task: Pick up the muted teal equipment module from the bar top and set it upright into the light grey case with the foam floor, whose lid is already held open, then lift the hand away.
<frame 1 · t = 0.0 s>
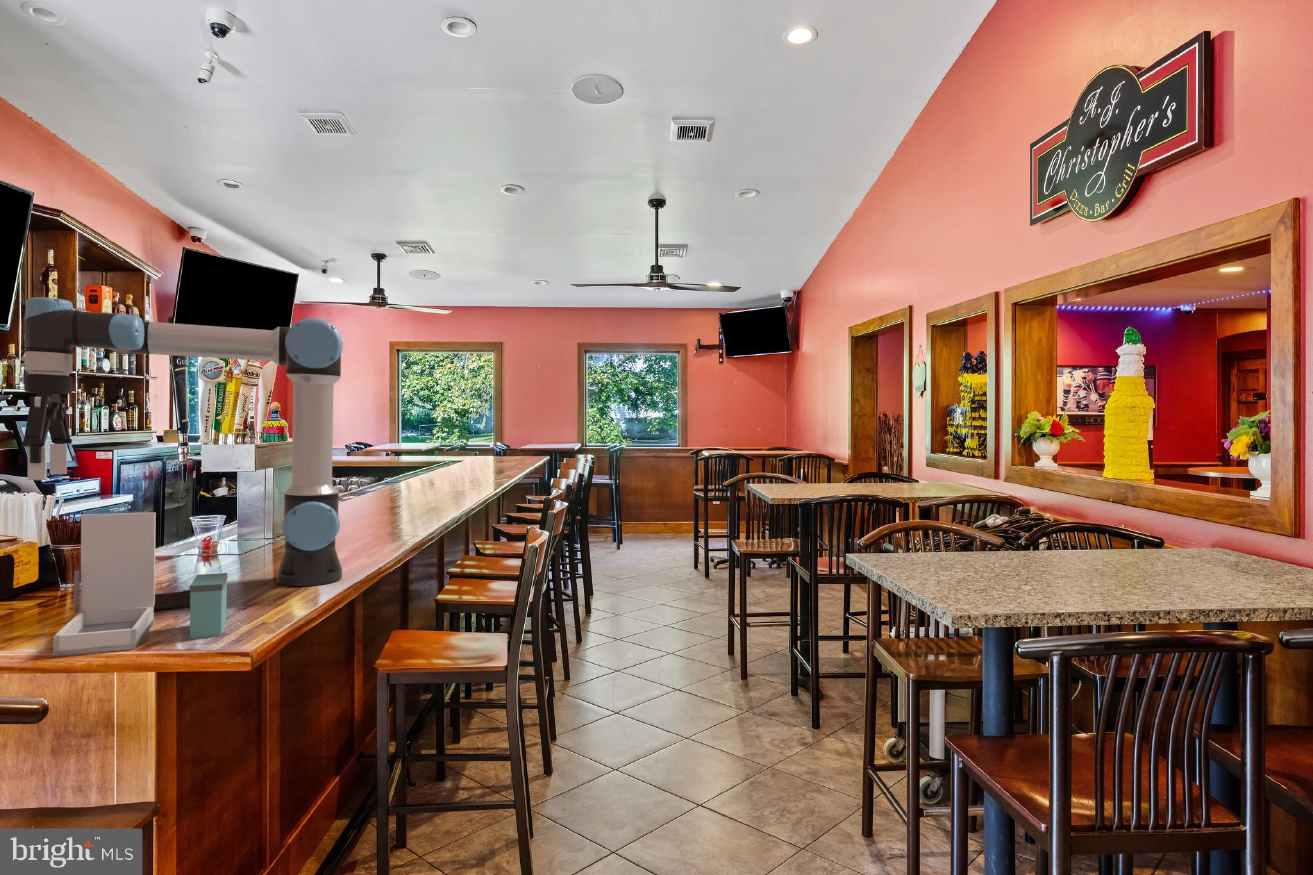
hand: (48, 477, 147), 28 cm above the table, tool pointing down, fingers open, 13 cm apart
hand tool: (164, 612, 151), on the table
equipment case: (107, 638, 132), on the table
module: (208, 630, 139), on the table
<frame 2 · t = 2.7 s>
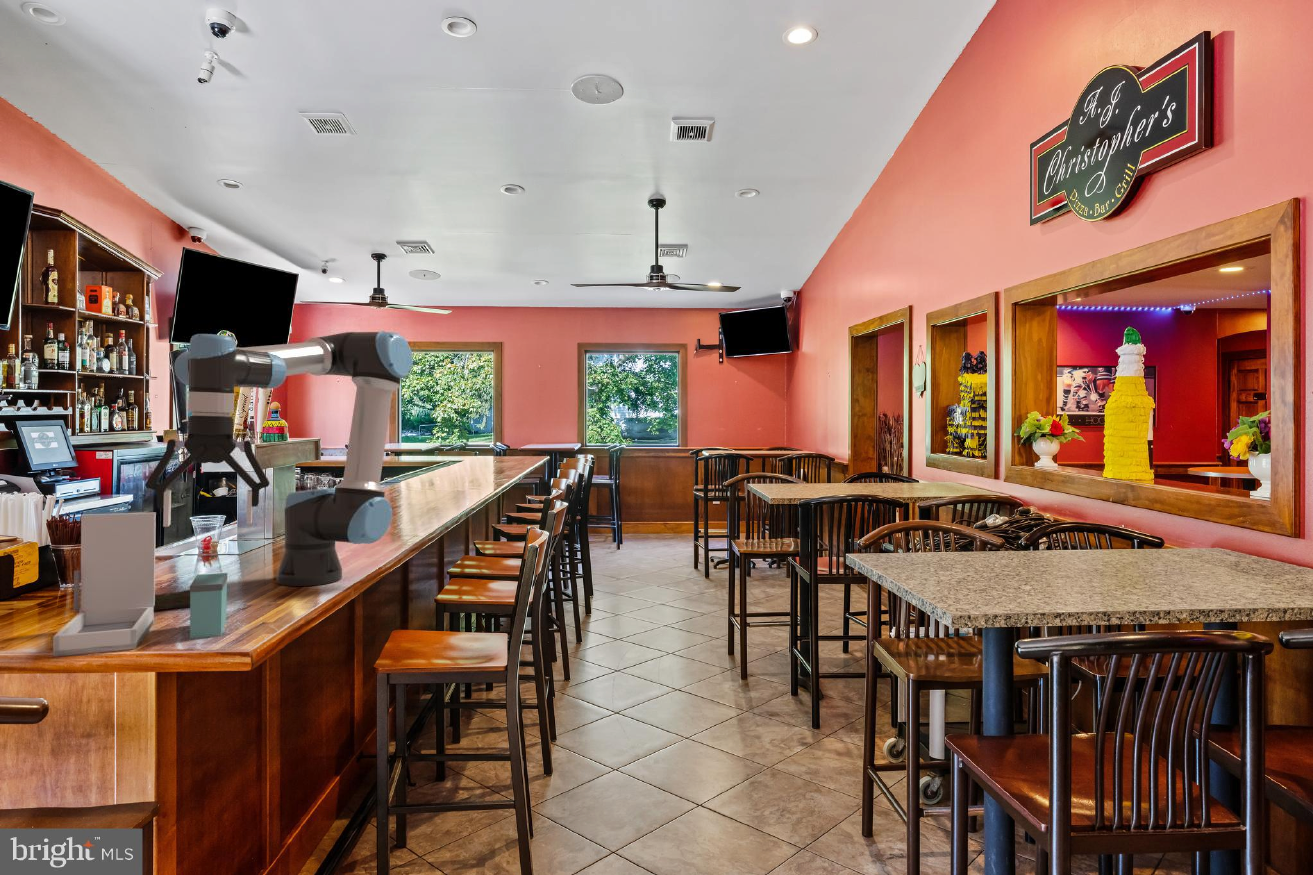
hand: (209, 524, 138), 21 cm above the table, tool pointing down, fingers open, 13 cm apart
nothing on the table moved.
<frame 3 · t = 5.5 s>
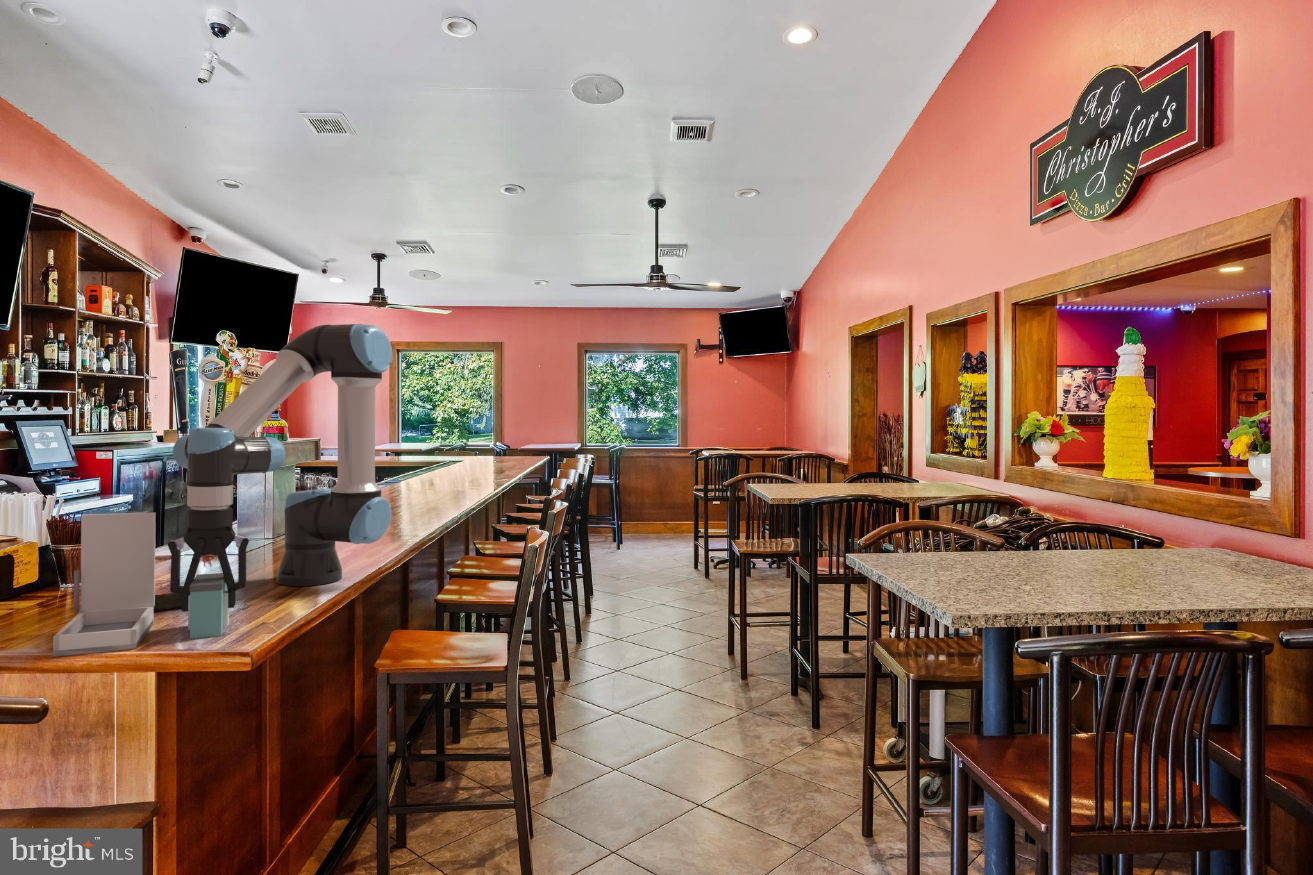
hand: (208, 625, 139), 1 cm above the table, tool pointing down, fingers closed on module, 5 cm apart
module: (208, 629, 139), on the table, touching gripper
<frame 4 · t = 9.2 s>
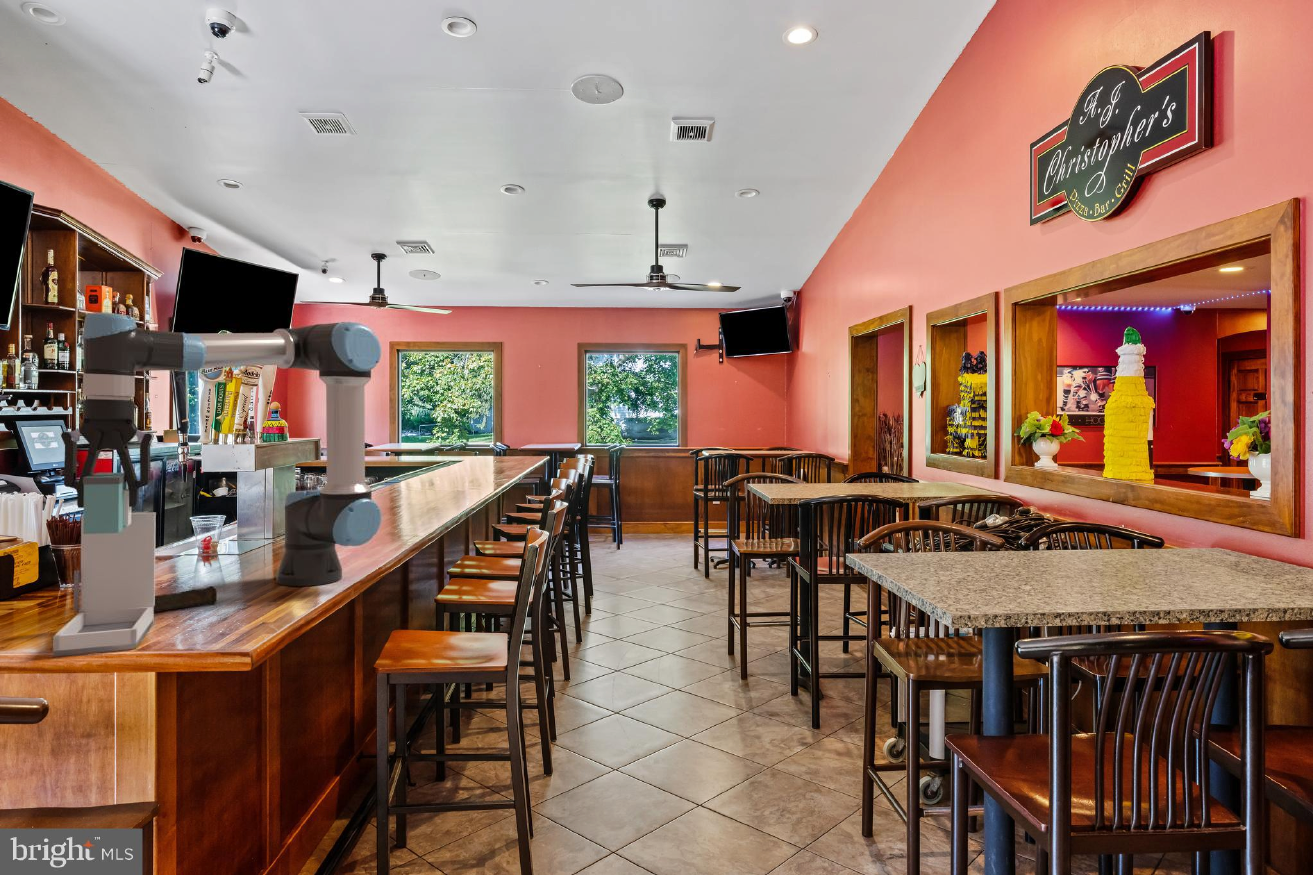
hand: (108, 524, 131), 21 cm above the table, tool pointing down, fingers closed on module, 5 cm apart
module: (108, 529, 131), point 20 cm above the table, touching gripper
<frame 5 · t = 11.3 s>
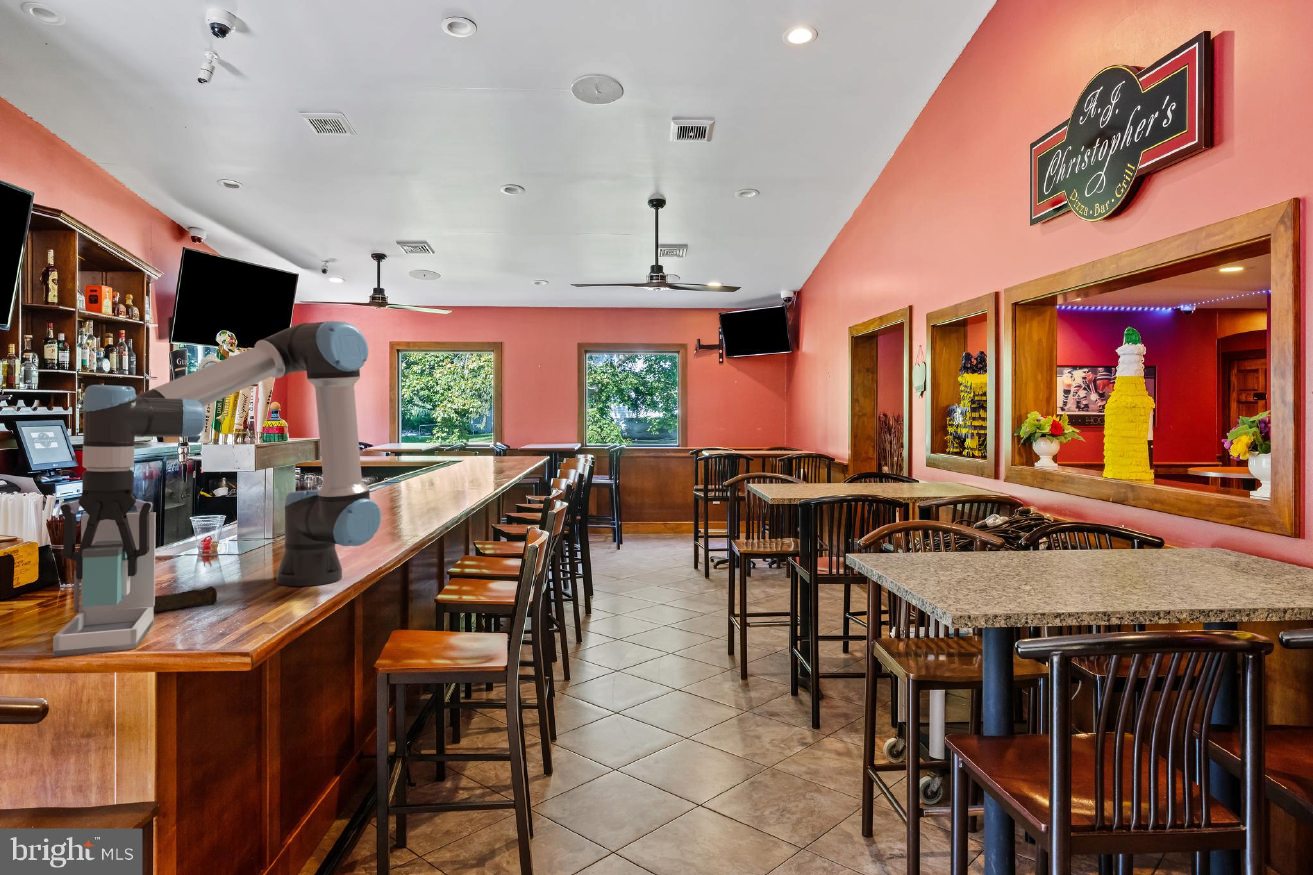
hand: (106, 594, 131), 8 cm above the table, tool pointing down, fingers closed on module, 5 cm apart
module: (106, 599, 131), point 7 cm above the table, touching gripper
when the fingers open (3 cm above the table, at t = 13.1 s): module drops 1 cm, resting on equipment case.
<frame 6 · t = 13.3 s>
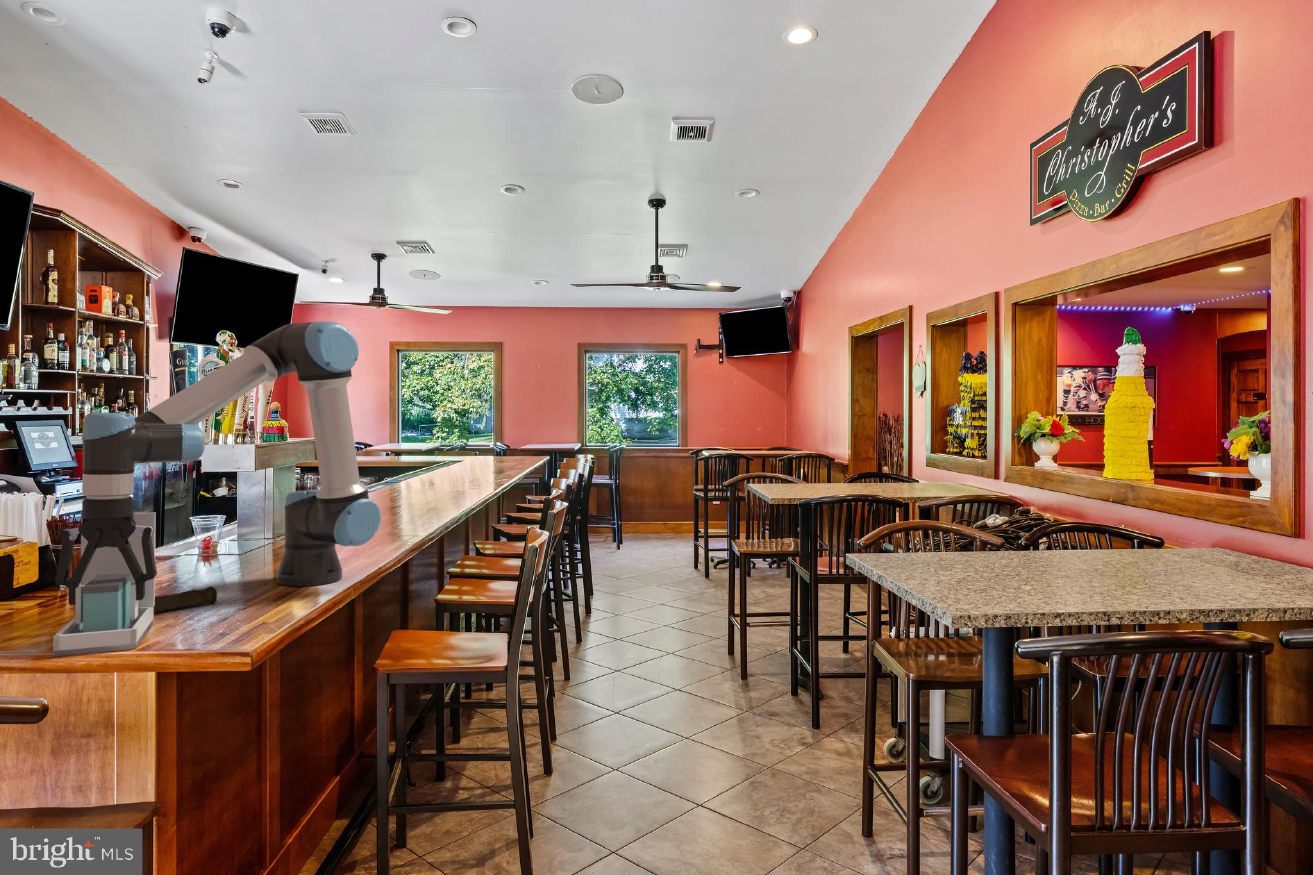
hand: (107, 619, 131), 4 cm above the table, tool pointing down, fingers open, 7 cm apart
module: (107, 633, 132), point 1 cm above the table, touching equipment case
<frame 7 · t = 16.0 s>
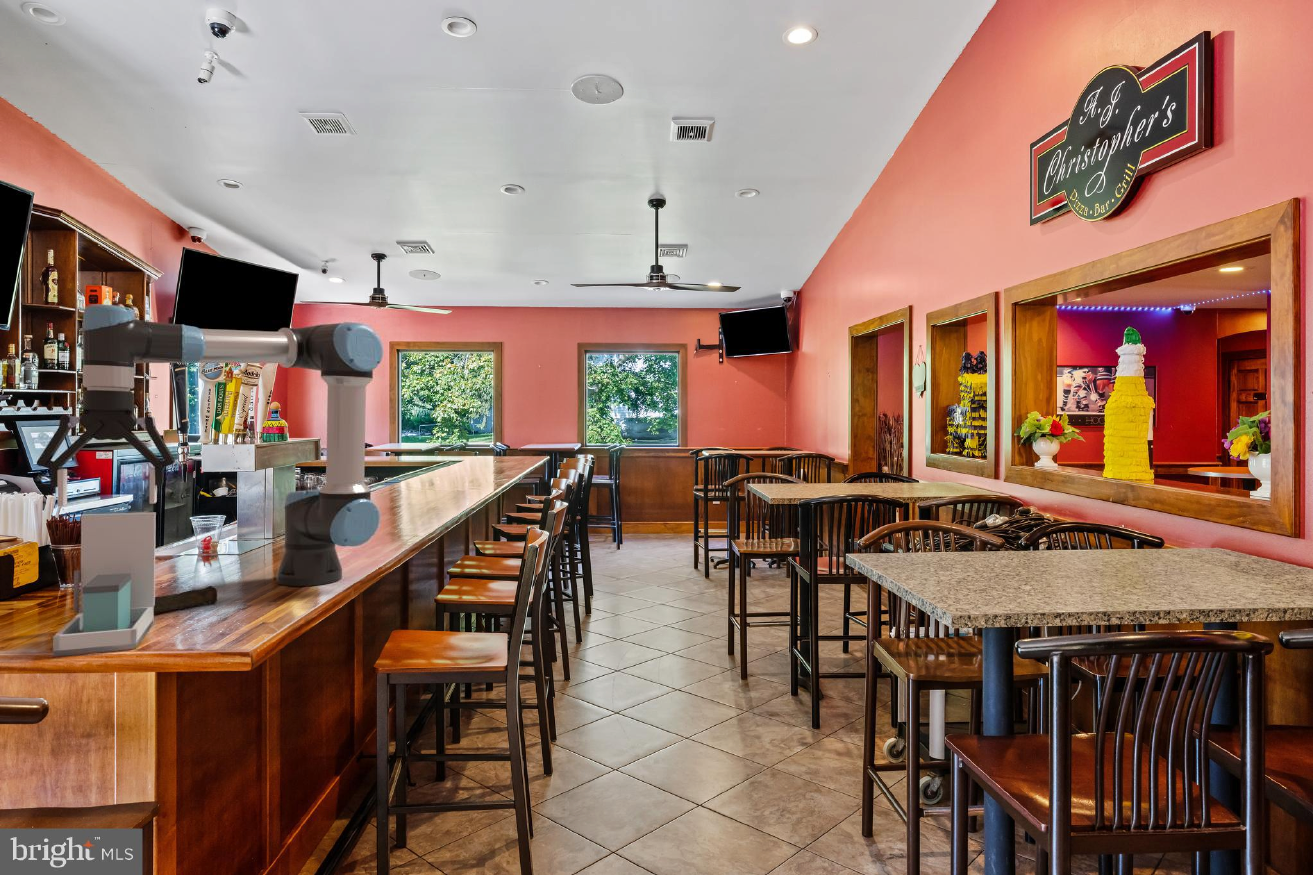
hand: (108, 504, 132), 25 cm above the table, tool pointing down, fingers open, 13 cm apart
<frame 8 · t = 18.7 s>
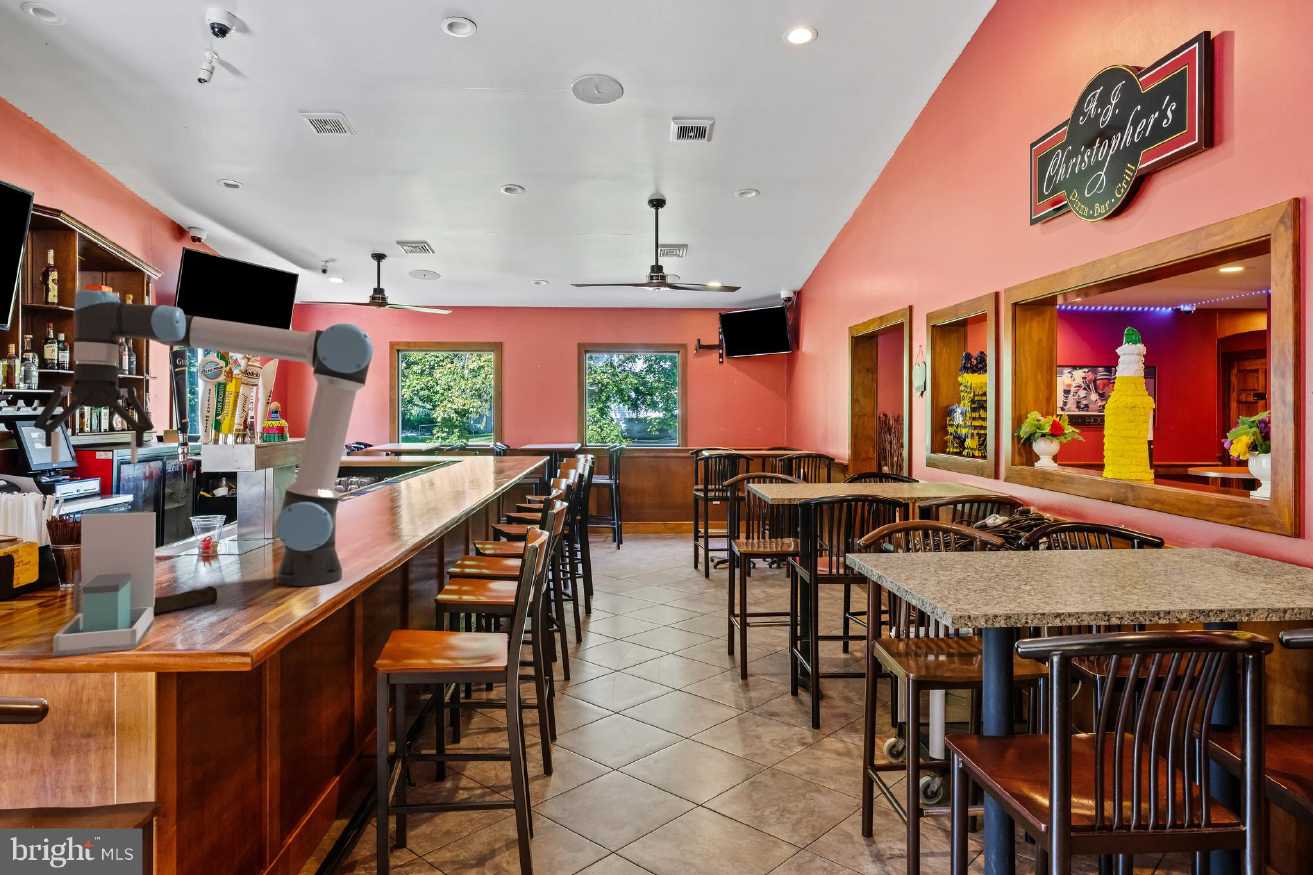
hand: (95, 462, 153), 31 cm above the table, tool pointing down, fingers open, 13 cm apart
at the end: module inside the target area on the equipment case (0.0 cm from its centre), point 1.0 cm above the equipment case's base; module tilted 0°; the gripper is holding nothing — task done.
